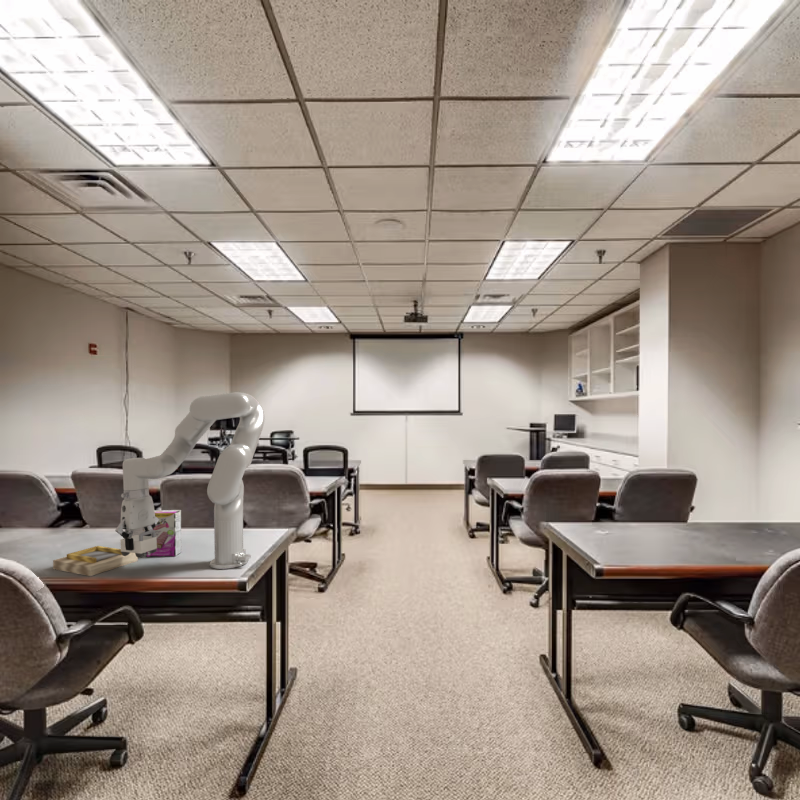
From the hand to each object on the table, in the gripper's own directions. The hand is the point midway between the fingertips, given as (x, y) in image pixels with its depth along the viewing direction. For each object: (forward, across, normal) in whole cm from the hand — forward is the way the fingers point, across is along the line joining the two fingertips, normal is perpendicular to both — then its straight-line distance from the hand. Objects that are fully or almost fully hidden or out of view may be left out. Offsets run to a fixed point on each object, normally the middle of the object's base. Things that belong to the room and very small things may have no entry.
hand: (138, 546), depth 163 cm
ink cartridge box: (+8, +15, +18) cm, 25 cm away
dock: (+7, -3, +19) cm, 20 cm away
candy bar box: (+8, +14, +6) cm, 17 cm away
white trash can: (+3, 0, 0) cm, 3 cm away
